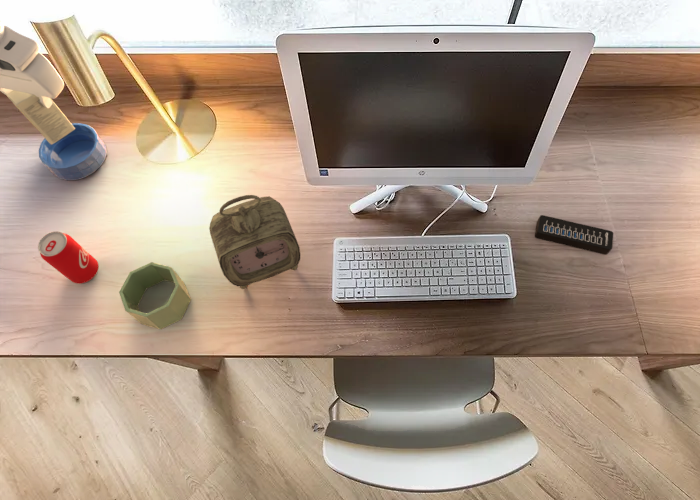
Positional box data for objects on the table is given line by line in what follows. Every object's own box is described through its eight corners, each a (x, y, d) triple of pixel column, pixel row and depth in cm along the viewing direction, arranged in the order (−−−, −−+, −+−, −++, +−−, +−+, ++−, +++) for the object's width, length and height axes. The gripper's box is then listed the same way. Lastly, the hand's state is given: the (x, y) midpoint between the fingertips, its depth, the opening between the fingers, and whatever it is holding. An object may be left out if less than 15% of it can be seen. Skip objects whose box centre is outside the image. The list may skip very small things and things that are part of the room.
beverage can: (105, 261, 103) (75, 233, 92) (90, 288, 100) (57, 261, 90) (79, 255, 104) (46, 225, 93) (64, 281, 101) (28, 253, 91)
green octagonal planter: (127, 320, 97) (110, 306, 90) (151, 273, 101) (137, 258, 95) (175, 333, 95) (161, 321, 89) (197, 286, 99) (186, 270, 93)
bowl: (40, 175, 115) (27, 161, 110) (70, 132, 120) (59, 118, 116) (89, 186, 112) (78, 173, 108) (117, 143, 118) (108, 129, 114)
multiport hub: (537, 220, 104) (540, 214, 102) (608, 236, 101) (613, 231, 99) (534, 237, 102) (537, 231, 100) (607, 255, 99) (612, 249, 97)
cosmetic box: (66, 119, 110) (33, 76, 100) (76, 129, 109) (44, 87, 98) (40, 135, 108) (4, 93, 98) (50, 146, 107) (14, 104, 96)
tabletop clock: (237, 297, 98) (199, 234, 76) (226, 260, 102) (186, 190, 80) (306, 272, 100) (287, 203, 78) (291, 236, 104) (270, 162, 82)
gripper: (-73, 47, 88) (-20, 104, 101) (24, 66, 85) (67, 123, 97) (-51, 25, 91) (-1, 82, 103) (44, 42, 88) (83, 100, 100)
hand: (33, 102), depth 100 cm, fingers closed on cosmetic box, 6 cm apart
